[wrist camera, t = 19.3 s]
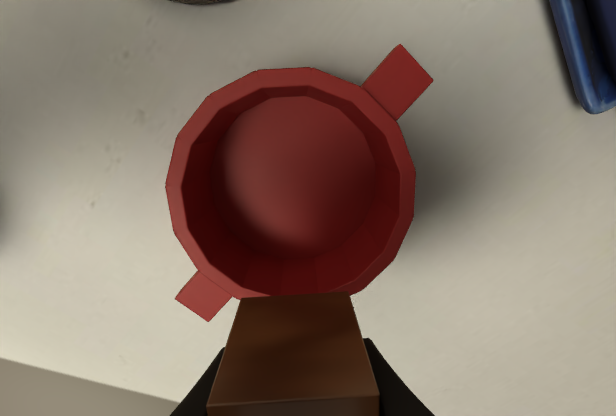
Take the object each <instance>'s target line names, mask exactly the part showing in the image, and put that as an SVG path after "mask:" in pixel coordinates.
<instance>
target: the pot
mask: <svg viewBox="0 0 616 416" xmlns="http://www.w3.org/2000/svg"><path fill="white" fill-rule="evenodd" d="M433 81H434V80H433V79H432V78H431V77H430V76H429V74H428V73H427V72H426V71H425V70H424V69H423V68H422V67H421V66H420V65H419V63H418V62H417V61H416V60H415V59H414V58H413V57H412V56H411V55H410V53H409V52H408V51H407V50H406V49H405V48H404V47H403V46H402V45H401V44H399V45H397V46H396V47H395V48H394V49H393V50H392V51H391V52H390V53H389V54H388V55H387V57H386V58H385V59H384V60H383V61H382V62H381V63H380V64H379V66H378V67H377V68H376V69H375V70H374V71H373V72H372V74H371V75H370V76H369V77H368V78H367V79H366V80H365V82H364V83H363V84H362V85H361V86H358V85H356V84H353V83H351V82H348V81H346V80H343V79H341V78H338V77H336V76H333V75H330V74H328V73H325V72H323V71H320V70H318V69H315V68H310V67H302V68H282V69H262V70H257V71H253V72H251V73H249V74H247V75H246V76H244V77H242V78H240V79H238V80H236V81H234V82H232V83H230V84H228V85H226V86H224V87H223V88H221V89H219V90H217V91H215V92H213V93H211V94H210V95H209V96H207V97H206V98H205V100H204V101H203V102H202V104H201V105H200V106H199V108H198V109H197V110H196V111H195V113H194V114H193V115H192V117H191V118H190V119H189V120H188V122H187V123H186V124H185V126H184V127H183V128H182V130H181V131H180V132H179V133H178V135H177V138H176V140H175V145H174V149H173V153H172V157H171V162H170V166H169V170H168V174H167V179H166V183H165V184H166V186H165V188H166V194H167V199H168V204H169V210H170V215H171V221H172V226H173V231H174V234H175V235H176V237H177V238H178V240H179V242H180V243H181V245H182V246H183V248H184V249H185V251H186V252H187V254H188V256H189V257H190V259H191V260H192V262H193V263H194V265H195V266H196V268H197V269H198V271H197V272H196V273H195V274H194V275H193V277H192V278H191V279H190V280H189V281H188V282H187V283H186V284H185V286H184V287H183V288H182V289H181V290H180V292H179V293H178V295H177V296H176V297H175V299H176V300H177V301H179V302H180V303H181V304H183V305H184V306H186V307H187V308H189V309H190V310H192V311H193V312H194V313H196V314H197V315H199V316H200V317H202V318H203V319H205V320H206V321H207V322H209V321H210V320H211V319H212V318H213V317H214V316H215V315H216V314H217V312H218V311H219V310H220V309H221V308H222V307H223V306H224V305H225V304H226V303H227V302H228V301H229V300H230V299H231V297H232V296H233V297H234V298H236V299H239V300H241V298H245V297H262V296H279V295H295V294H312V293H329V292H346V291H347V292H349V295H353V294H355V293H357V292H360V291H362V290H363V289H364V288H365V287H366V286H367V285H368V284H369V283H370V282H372V281H373V280H374V279H375V278H376V277H377V276H378V275H379V274H380V273H381V272H382V271H383V270H384V269H385V268H386V267H387V266H388V265H389V264H390V263H391V262H392V261H393V260H394V259H395V257H396V255H397V253H398V251H399V249H400V246H401V244H402V242H403V240H404V238H405V236H406V233H407V231H408V229H409V227H410V225H411V223H412V221H413V218H414V203H415V181H416V171H415V167H414V164H413V162H412V159H411V156H410V154H409V151H408V148H407V146H406V143H405V140H404V138H403V135H402V132H401V130H400V127H399V125H398V123H397V122H396V121H397V120H398V119H399V117H400V116H401V115H402V114H403V113H404V112H405V111H406V110H407V109H408V108H409V107H410V106H411V105H412V104H413V102H414V101H415V100H416V99H417V98H418V97H419V96H420V95H421V94H422V93H423V92H424V91H425V90H426V89H427V87H428V86H429V85H430V84H431V83H432V82H433Z"/></svg>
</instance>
